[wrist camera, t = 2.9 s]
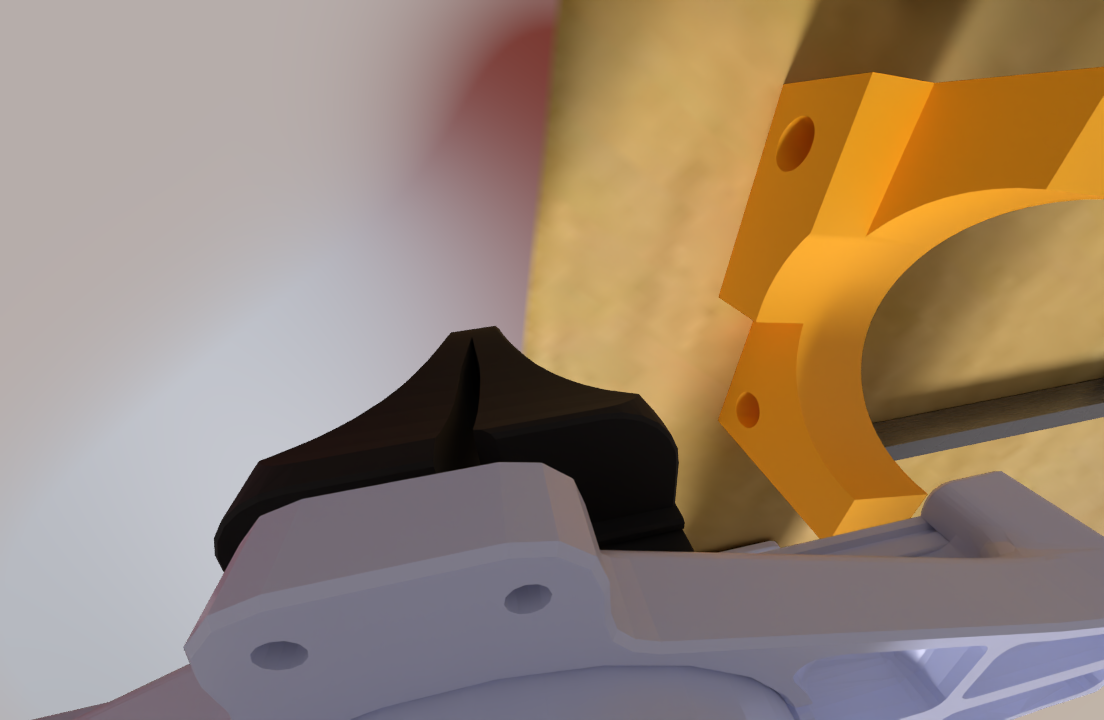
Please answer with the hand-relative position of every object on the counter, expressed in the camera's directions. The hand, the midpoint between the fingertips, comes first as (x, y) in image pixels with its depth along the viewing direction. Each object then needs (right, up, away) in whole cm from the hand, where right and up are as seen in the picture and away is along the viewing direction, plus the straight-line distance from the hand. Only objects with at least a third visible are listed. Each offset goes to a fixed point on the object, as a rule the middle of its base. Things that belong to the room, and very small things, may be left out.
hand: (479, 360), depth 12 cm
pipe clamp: (+10, +3, +4) cm, 11 cm away
